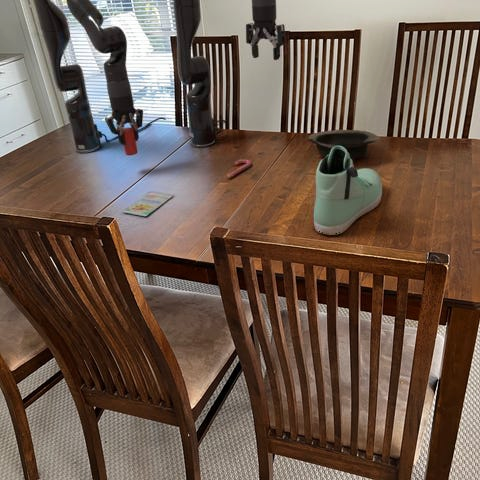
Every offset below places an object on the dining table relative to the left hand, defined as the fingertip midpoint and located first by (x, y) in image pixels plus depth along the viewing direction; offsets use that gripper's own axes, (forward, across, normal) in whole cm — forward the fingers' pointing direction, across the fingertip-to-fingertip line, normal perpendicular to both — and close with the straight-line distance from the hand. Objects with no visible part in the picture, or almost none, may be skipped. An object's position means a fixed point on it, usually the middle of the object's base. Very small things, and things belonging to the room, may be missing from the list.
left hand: (129, 142), depth 167 cm
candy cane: (+11, +25, -28) cm, 39 cm away
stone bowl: (+11, +58, -47) cm, 76 cm away
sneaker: (+11, +28, -74) cm, 79 cm away
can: (+4, 0, 0) cm, 4 cm away
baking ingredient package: (+11, -11, -26) cm, 30 cm away
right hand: (-24, +40, -29) cm, 54 cm away
